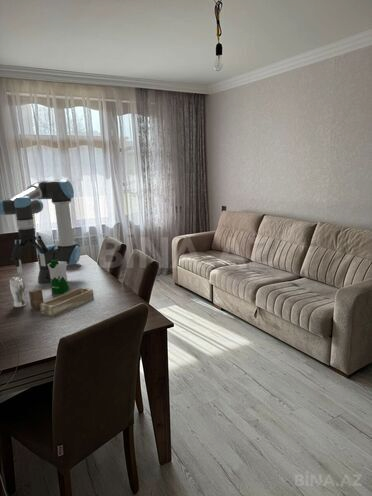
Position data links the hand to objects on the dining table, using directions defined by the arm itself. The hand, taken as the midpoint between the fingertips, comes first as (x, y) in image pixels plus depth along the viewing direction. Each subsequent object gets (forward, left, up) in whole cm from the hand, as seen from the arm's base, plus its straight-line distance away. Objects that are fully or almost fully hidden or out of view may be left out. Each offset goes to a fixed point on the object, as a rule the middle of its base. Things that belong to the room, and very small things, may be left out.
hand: (32, 269), depth 177 cm
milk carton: (-9, +23, -22) cm, 33 cm away
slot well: (+12, +10, -22) cm, 27 cm away
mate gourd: (-48, +68, -22) cm, 86 cm away
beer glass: (-13, -1, -22) cm, 25 cm away
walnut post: (0, 0, -22) cm, 22 cm away
